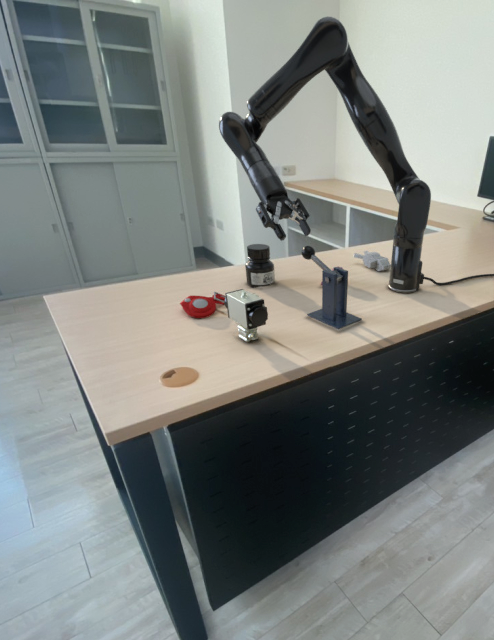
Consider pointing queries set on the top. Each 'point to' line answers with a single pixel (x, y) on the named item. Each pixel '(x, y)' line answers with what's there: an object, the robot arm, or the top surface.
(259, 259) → the ink bottle
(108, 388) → the top surface
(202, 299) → the tracker holder
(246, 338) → the pneumatic valve
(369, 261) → the bunny figurine
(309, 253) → the clamp handle
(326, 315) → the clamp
